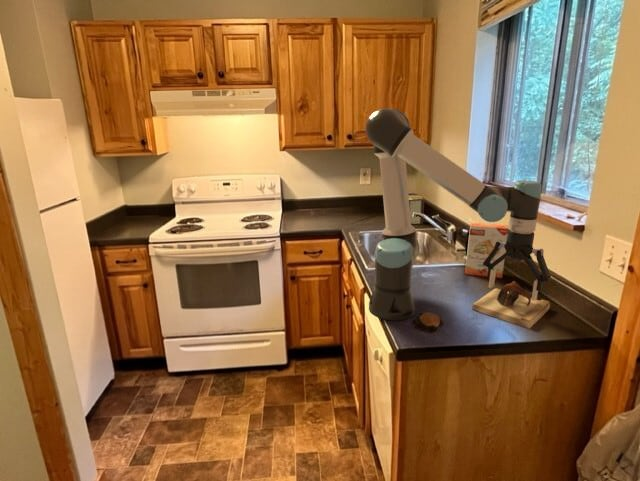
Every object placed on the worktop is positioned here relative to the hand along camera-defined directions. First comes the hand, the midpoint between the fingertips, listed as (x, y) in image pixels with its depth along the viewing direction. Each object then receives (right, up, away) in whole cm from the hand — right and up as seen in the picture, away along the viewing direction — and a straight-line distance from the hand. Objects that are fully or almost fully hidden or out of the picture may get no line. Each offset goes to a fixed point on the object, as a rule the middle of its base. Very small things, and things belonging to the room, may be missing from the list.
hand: (511, 292), depth 129 cm
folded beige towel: (0, -6, +2) cm, 6 cm away
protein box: (-5, +29, +118) cm, 121 cm away
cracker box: (+4, +3, +31) cm, 32 cm away
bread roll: (-30, -9, -6) cm, 32 cm away
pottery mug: (+1, -4, +1) cm, 4 cm away
